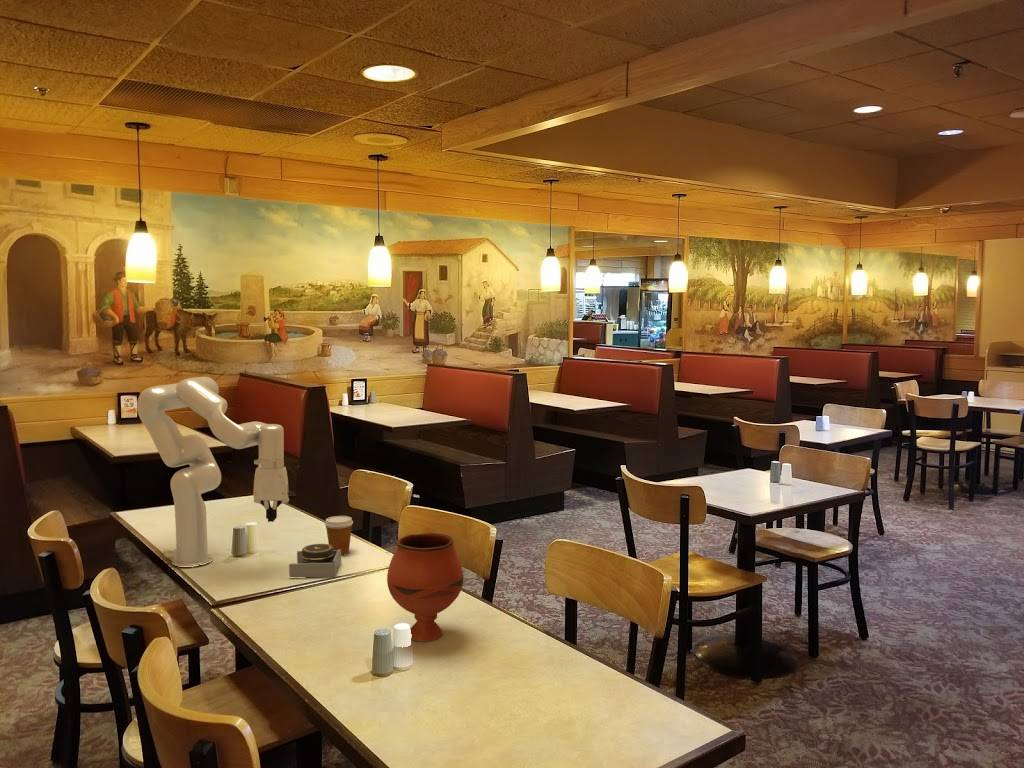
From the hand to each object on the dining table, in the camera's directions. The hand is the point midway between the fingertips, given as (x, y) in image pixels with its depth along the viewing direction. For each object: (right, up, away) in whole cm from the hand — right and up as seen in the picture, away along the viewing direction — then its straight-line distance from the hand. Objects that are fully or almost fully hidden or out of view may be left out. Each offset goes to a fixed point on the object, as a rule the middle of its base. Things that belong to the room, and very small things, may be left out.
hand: (271, 520), depth 251 cm
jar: (+14, -17, +2) cm, 22 cm away
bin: (+13, -16, +2) cm, 21 cm away
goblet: (+54, -21, -48) cm, 75 cm away
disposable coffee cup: (+17, -15, +21) cm, 31 cm away
